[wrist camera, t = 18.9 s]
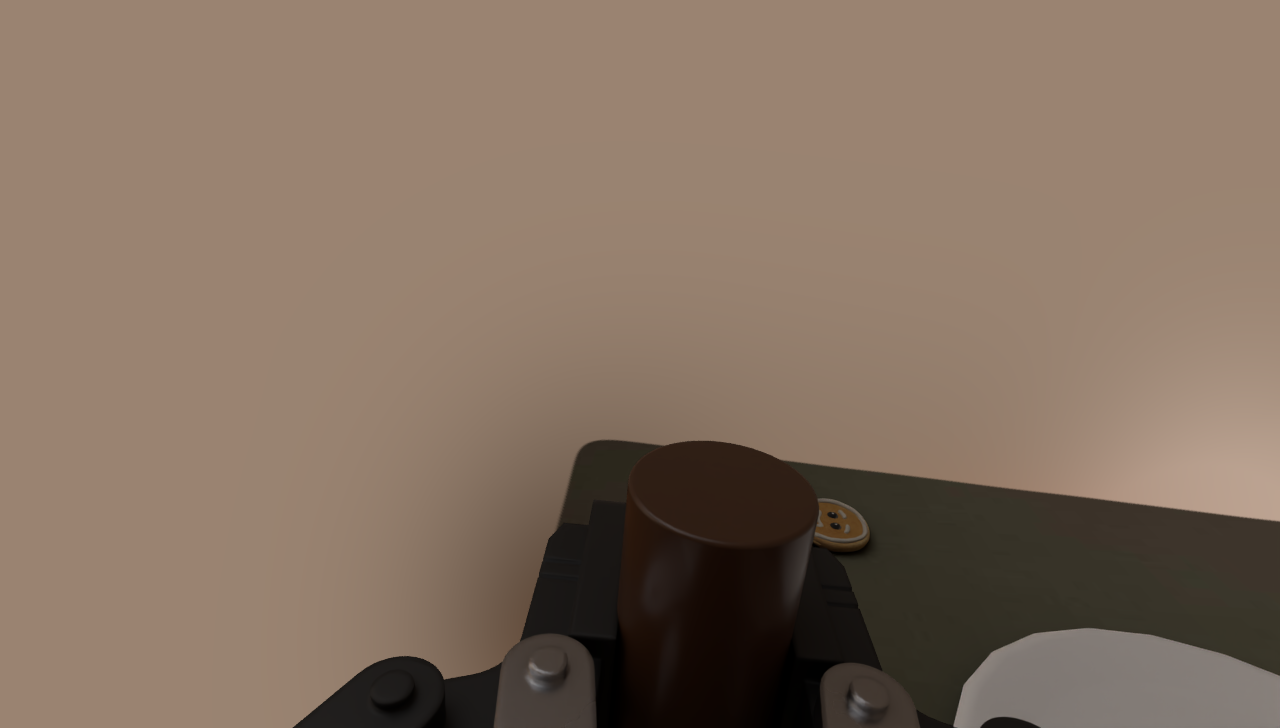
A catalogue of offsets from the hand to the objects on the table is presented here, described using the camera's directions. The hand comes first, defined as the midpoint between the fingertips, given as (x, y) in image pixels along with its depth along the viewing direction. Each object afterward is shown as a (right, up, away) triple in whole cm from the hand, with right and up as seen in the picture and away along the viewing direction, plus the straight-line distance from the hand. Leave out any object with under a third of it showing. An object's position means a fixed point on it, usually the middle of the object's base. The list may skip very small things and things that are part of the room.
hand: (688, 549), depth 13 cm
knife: (-1, -12, +2) cm, 12 cm away
